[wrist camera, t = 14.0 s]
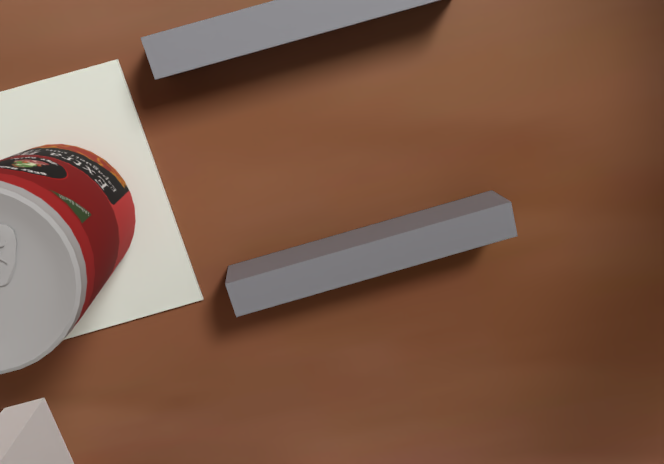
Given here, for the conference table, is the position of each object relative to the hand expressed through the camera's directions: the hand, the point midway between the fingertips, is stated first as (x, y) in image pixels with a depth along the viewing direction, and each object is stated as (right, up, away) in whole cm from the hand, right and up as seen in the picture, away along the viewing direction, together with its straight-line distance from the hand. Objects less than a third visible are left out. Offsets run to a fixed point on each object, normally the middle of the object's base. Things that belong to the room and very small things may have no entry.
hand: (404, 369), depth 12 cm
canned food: (-16, +4, +23) cm, 28 cm away
